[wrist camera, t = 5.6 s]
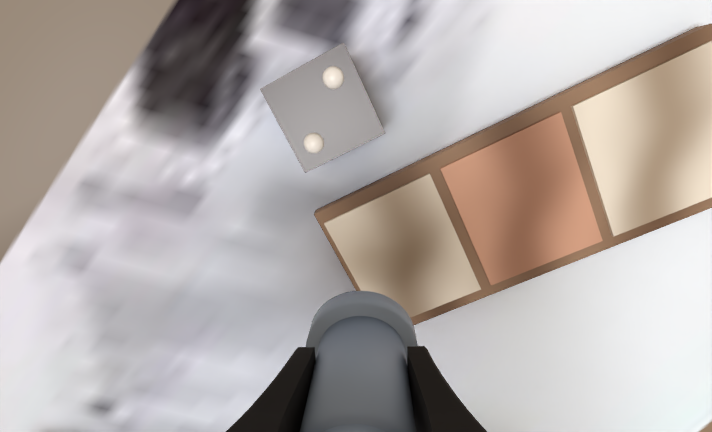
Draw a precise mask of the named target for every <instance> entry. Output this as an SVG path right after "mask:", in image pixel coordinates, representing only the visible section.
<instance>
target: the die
mask: <svg viewBox="0 0 712 432" xmlns="http://www.w3.org/2000/svg"><path fill="white" fill-rule="evenodd" d="M260 90H261V92H262V94H263V96H264V97H265V99H266V101H267V103H268V105H269V107H270V109H271V110H272V112H273V114H274V116H275V118H276V120H277V122H278V123H279V125H280V127H281V129H282V131H283V133H284V135H285V137H286V138H287V140H288V142H289V144H290V146H291V148H292V150H293V151H294V153H295V155H296V157H297V159H298V161H299V163H300V164H301V166H302V168H303V170H304V172H305V173H306V172H308V171H310V170H312V169H314V168H316V167H318V166H320V165H322V164H324V163H326V162H328V161H330V160H332V159H334V158H336V157H338V156H340V155H342V154H344V153H346V152H349V151H351V150H353V149H355V148H357V147H359V146H361V145H363V144H365V143H367V142H369V141H371V140H373V139H375V138H377V137H379V136H381V135H383V134H385V131H384V129H383V127H382V125H381V123H380V120H379V118H378V116H377V114H376V112H375V110H374V107H373V105H372V103H371V101H370V99H369V96H368V94H367V92H366V90H365V88H364V86H363V83H362V81H361V79H360V77H359V75H358V72H357V70H356V68H355V66H354V64H353V61H352V59H351V57H350V55H349V53H348V51H347V48H346V46H345V44H344V43H342V44H340V45H338V46H336V47H335V48H333V49H331V50H329V51H327V52H326V53H324V54H322V55H320V56H318V57H317V58H315V59H313V60H311V61H310V62H308V63H306V64H304V65H302V66H301V67H299V68H297V69H295V70H293V71H292V72H290V73H288V74H286V75H284V76H283V77H281V78H279V79H277V80H275V81H274V82H272V83H270V84H268V85H266V86H265V87H263V88H261V89H260Z"/></svg>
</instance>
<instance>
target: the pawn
mask: <svg viewBox="0 0 712 432" xmlns="http://www.w3.org/2000/svg"><path fill="white" fill-rule="evenodd" d="M407 346H417V341H416V335H415V330H414V326H413V323H412V320H411V318H410V317H409V315H408V313H407V312H406V311H405V309H404V308H403V307H402V306H401V305H400V304H398V303H397V302H396V301H394V300H393V299H391V298H389V297H387V296H385V295H382V294H379V293H376V292H371V291H352V292H346V293H343V294H340V295H338V296H336V297H333V298H332V299H330V300H329V301H327V302H326V303H325V304H324V305H323V306H322V307H321V308H320V309H319V310H318V312H317V313H316V315H315V316H314V319H313V321H312V324H311V328H310V331H309V335H308V338H307V343H306V347H315V357H316V361H315V365H314V370H313V374H312V379H311V383H310V388H309V393H308V397H307V402H306V406H305V411H304V415H303V420H302V424H301V429H300V432H416V426H415V419H414V412H413V405H412V397H411V390H410V383H409V375H408V368H407Z"/></svg>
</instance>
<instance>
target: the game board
mask: <svg viewBox="0 0 712 432" xmlns="http://www.w3.org/2000/svg"><path fill="white" fill-rule="evenodd" d="M709 208H712V24H708V25H704V26H700V27H696V28H694V29H692V30H690V31H688V32H686V33H683V34H681V35H679V36H677V37H675V38H673V39H671V40H669V41H667V42H665V43H663V44H661V45H658V46H656V47H654V48H652V49H650V50H648V51H646V52H644V53H642V54H640V55H638V56H636V57H634V58H631V59H629V60H627V61H625V62H623V63H621V64H619V65H617V66H615V67H613V68H611V69H609V70H606V71H604V72H602V73H600V74H598V75H596V76H594V77H592V78H590V79H588V80H586V81H584V82H582V83H579V84H577V85H575V86H573V87H571V88H569V89H567V90H565V91H563V92H561V93H559V94H557V95H554V96H552V97H550V98H548V99H546V100H544V101H542V102H540V103H538V104H536V105H534V106H532V107H530V108H527V109H525V110H523V111H521V112H519V113H517V114H515V115H513V116H511V117H509V118H507V119H505V120H502V121H500V122H498V123H496V124H494V125H492V126H490V127H488V128H486V129H484V130H482V131H480V132H478V133H475V134H473V135H471V136H469V137H467V138H465V139H463V140H461V141H459V142H457V143H455V144H453V145H450V146H448V147H446V148H444V149H442V150H440V151H438V152H436V153H434V154H432V155H430V156H428V157H426V158H423V159H421V160H419V161H417V162H415V163H413V164H411V165H409V166H407V167H405V168H403V169H401V170H398V171H396V172H394V173H392V174H390V175H388V176H386V177H384V178H382V179H380V180H378V181H376V182H374V183H371V184H369V185H367V186H365V187H363V188H361V189H359V190H357V191H355V192H353V193H351V194H349V195H346V196H344V197H342V198H340V199H338V200H336V201H334V202H332V203H330V204H328V205H326V206H324V207H322V208H319V209H317V210H316V211H315V213H314V215H315V217H316V219H317V221H318V223H319V224H320V226H321V228H322V230H323V232H324V233H325V235H326V237H327V239H328V241H329V242H330V244H331V246H332V248H333V249H334V251H335V253H336V255H337V257H338V258H339V260H340V262H341V264H342V266H343V267H344V269H345V271H346V273H347V275H348V276H349V278H350V280H351V282H352V284H353V285H354V287H355V289H356V291H371V292H376V293H379V294H382V295H385V296H387V297H389V298H391V299H393V300H394V301H396V302H397V303H398V304H400V305H401V306H402V307H403V308H404V309H405V311H406V312H407V313H408V315H409V317H410V318H411V320H412V323H413V325H415V324H418V323H420V322H423V321H425V320H428V319H430V318H433V317H436V316H438V315H441V314H443V313H446V312H448V311H451V310H453V309H456V308H458V307H461V306H463V305H466V304H469V303H471V302H474V301H476V300H479V299H481V298H484V297H486V296H489V295H491V294H494V293H496V292H499V291H501V290H504V289H507V288H509V287H512V286H514V285H517V284H519V283H522V282H524V281H527V280H529V279H532V278H534V277H537V276H540V275H542V274H545V273H547V272H550V271H552V270H555V269H557V268H560V267H562V266H565V265H567V264H570V263H573V262H575V261H578V260H580V259H583V258H585V257H588V256H590V255H593V254H595V253H598V252H600V251H603V250H605V249H608V248H611V247H613V246H616V245H618V244H621V243H623V242H626V241H628V240H631V239H633V238H636V237H638V236H641V235H644V234H646V233H649V232H651V231H654V230H656V229H659V228H661V227H664V226H666V225H669V224H671V223H674V222H676V221H679V220H682V219H684V218H687V217H689V216H692V215H694V214H697V213H699V212H702V211H704V210H707V209H709Z"/></svg>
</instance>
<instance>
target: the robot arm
mask: <svg viewBox="0 0 712 432" xmlns="http://www.w3.org/2000/svg"><path fill="white" fill-rule="evenodd" d="M315 361H316V357H315V347H298V348H297V349H296V350H295V352H294V353H293V355H292V356H291V357H290V359H289V360H288V362H287V363H286V364H285V366H284V367H283V368H282V370H281V371H280V372H279V374H278V375H277V376H276V378H275V379H274V380H273V381H272V383H271V384H270V385H269V386H268V388H267V389H266V390H265V391H264V392H263V393H262V395H261V396H260V397H259V398H258V399H257V400H256V401H255V403H254V404H253V405H252V406H251V407H250V408H249V409H248V410H247V411H246V412H245V413H244V414H243V415H242V417H241V418H240V419H239V420H238V421H237V422H235V423H234V424H233V425H232V426H231V427H230V428H229V429H228V430H227V431H226V432H300V429H301V424H302V420H303V415H304V411H305V406H306V402H307V397H308V393H309V388H310V383H311V379H312V374H313V370H314V365H315ZM407 368H408V375H409V383H410V390H411V397H412V405H413V412H414V419H415V426H416V432H487V431H486V430H485V429H484V428H483V427H482V426H481V425H480V423H479V422H478V421H477V420H476V419H475V418H474V417H473V415H472V414H471V413H470V412H469V411H468V410H467V408H466V407H465V406H464V405H463V403H462V402H461V401H460V399H459V398H458V397H457V396H456V394H455V393H454V391H453V390H452V389H451V387H450V386H449V384H448V383H447V382H446V380H445V379H444V377H443V376H442V374H441V373H440V371H439V369H438V368H437V366H436V365H435V363H434V361H433V360H432V358H431V356H430V354H429V352H428V350H427V349H426V348H425V347H424V346H407Z"/></svg>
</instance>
